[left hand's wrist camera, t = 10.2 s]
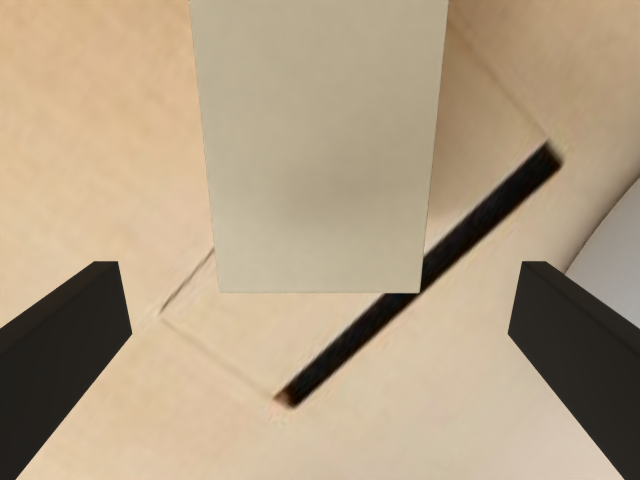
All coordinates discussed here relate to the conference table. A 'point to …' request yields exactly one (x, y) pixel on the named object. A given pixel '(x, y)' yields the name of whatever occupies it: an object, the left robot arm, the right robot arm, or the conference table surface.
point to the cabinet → (319, 140)
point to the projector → (614, 258)
